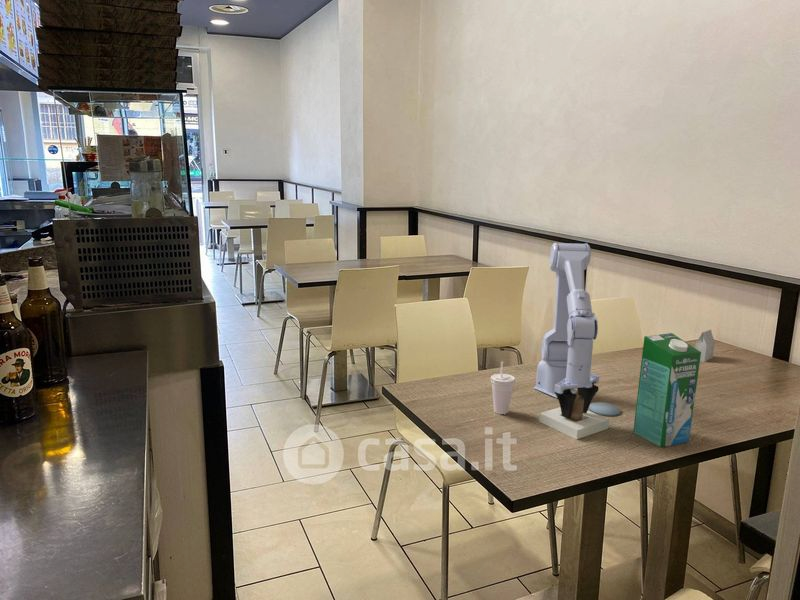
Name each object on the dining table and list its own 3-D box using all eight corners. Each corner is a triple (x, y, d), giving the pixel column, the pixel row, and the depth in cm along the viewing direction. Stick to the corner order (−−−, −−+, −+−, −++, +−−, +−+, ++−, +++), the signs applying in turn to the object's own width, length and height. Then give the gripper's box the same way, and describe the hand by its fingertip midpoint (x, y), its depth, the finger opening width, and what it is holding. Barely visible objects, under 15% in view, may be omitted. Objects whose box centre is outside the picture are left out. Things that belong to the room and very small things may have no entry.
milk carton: (661, 447, 142) (674, 346, 136) (632, 432, 150) (643, 335, 144) (689, 441, 145) (702, 342, 140) (659, 426, 153) (671, 332, 148)
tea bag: (712, 358, 210) (716, 330, 208) (704, 362, 206) (708, 333, 204) (701, 355, 213) (705, 328, 211) (693, 359, 208) (697, 331, 206)
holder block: (539, 421, 155) (540, 413, 154) (570, 412, 161) (571, 403, 161) (576, 439, 145) (577, 430, 144) (608, 428, 152) (609, 419, 151)
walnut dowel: (562, 424, 154) (564, 396, 152) (572, 420, 156) (574, 393, 154) (574, 429, 150) (577, 401, 149) (584, 426, 153) (587, 398, 151)
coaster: (582, 408, 164) (583, 406, 164) (601, 402, 168) (602, 400, 168) (607, 418, 157) (607, 416, 157) (626, 412, 162) (626, 409, 162)
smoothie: (484, 409, 162) (487, 359, 159) (504, 405, 165) (507, 356, 161) (497, 418, 156) (500, 367, 153) (517, 414, 159) (521, 364, 156)
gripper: (572, 373, 142) (567, 426, 145) (611, 363, 150) (605, 413, 153) (549, 364, 148) (545, 416, 151) (588, 355, 156) (583, 404, 159)
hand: (574, 414), depth 152 cm, fingers open, 6 cm apart
